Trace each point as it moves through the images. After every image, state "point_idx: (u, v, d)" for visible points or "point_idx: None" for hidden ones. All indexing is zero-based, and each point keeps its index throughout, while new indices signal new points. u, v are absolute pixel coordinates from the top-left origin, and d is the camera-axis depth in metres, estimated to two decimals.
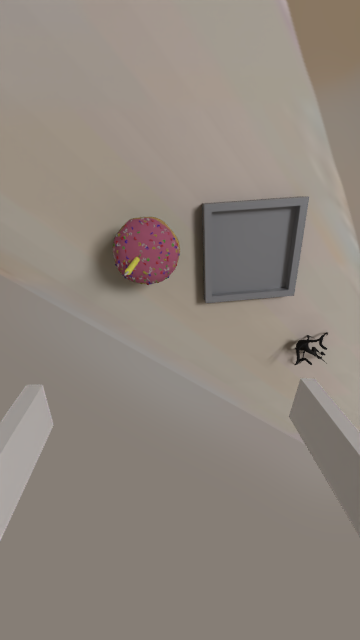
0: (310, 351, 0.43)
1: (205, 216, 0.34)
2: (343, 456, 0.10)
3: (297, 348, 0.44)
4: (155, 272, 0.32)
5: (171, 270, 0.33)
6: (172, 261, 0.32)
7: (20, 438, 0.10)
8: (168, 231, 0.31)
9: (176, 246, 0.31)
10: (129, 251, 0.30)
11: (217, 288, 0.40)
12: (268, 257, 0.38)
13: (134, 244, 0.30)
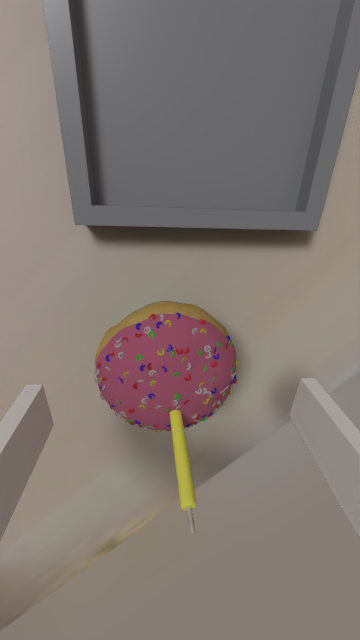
0: None
1: (102, 222, 0.14)
2: (343, 456, 0.10)
3: None
4: (209, 379, 0.13)
5: (213, 336, 0.13)
6: (191, 337, 0.13)
7: (20, 438, 0.10)
8: (121, 336, 0.13)
9: (157, 321, 0.13)
10: (157, 422, 0.14)
11: (288, 189, 0.15)
12: None
13: (143, 413, 0.14)
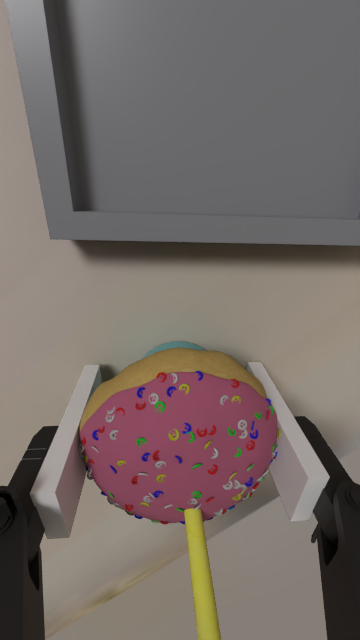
0: None
1: (90, 236, 0.10)
2: None
3: None
4: (243, 467, 0.09)
5: (250, 404, 0.09)
6: (219, 409, 0.09)
7: None
8: (115, 405, 0.09)
9: (168, 384, 0.09)
10: (165, 519, 0.10)
11: (350, 188, 0.11)
12: None
13: (145, 511, 0.10)
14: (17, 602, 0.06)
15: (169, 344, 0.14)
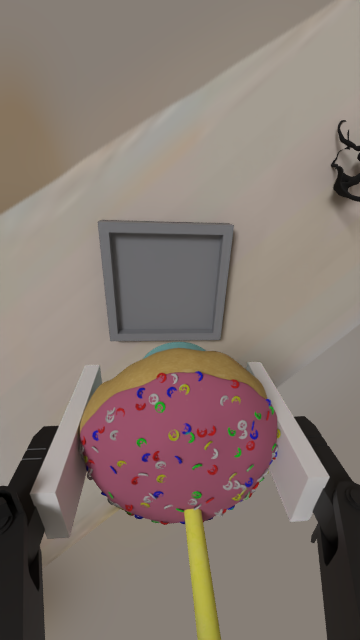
0: None
1: (122, 339, 0.32)
2: None
3: (346, 196, 0.25)
4: (243, 467, 0.09)
5: (250, 405, 0.09)
6: (219, 410, 0.09)
7: None
8: (115, 406, 0.09)
9: (169, 385, 0.09)
10: (165, 519, 0.10)
11: (206, 321, 0.33)
12: (175, 261, 0.29)
13: (146, 511, 0.10)
14: (17, 602, 0.06)
15: (169, 345, 0.14)
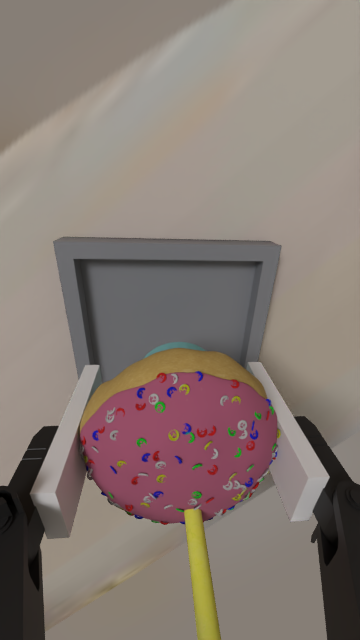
0: None
1: None
2: None
3: None
4: (243, 467, 0.09)
5: (250, 405, 0.09)
6: (219, 410, 0.09)
7: None
8: (115, 406, 0.09)
9: (169, 385, 0.09)
10: (165, 519, 0.10)
11: None
12: (183, 300, 0.18)
13: (146, 511, 0.10)
14: (17, 602, 0.06)
15: (169, 345, 0.14)
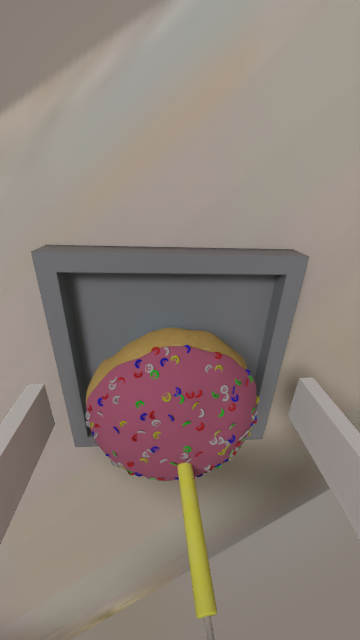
0: None
1: None
2: (341, 455, 0.10)
3: None
4: (226, 425, 0.11)
5: (231, 373, 0.11)
6: (204, 376, 0.10)
7: (22, 437, 0.10)
8: (117, 376, 0.10)
9: (161, 356, 0.10)
10: (162, 475, 0.12)
11: None
12: (188, 318, 0.16)
13: (144, 467, 0.11)
14: None
15: (162, 329, 0.15)
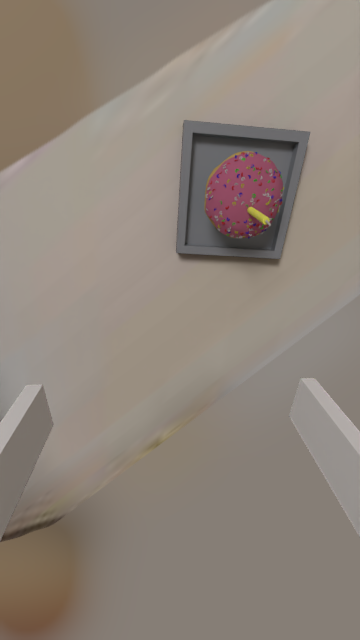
0: None
1: (187, 252, 0.33)
2: (343, 456, 0.10)
3: None
4: (270, 188, 0.25)
5: (273, 166, 0.25)
6: (263, 162, 0.25)
7: (20, 438, 0.10)
8: (226, 163, 0.25)
9: (245, 154, 0.25)
10: (239, 217, 0.26)
11: (267, 240, 0.34)
12: None
13: (233, 209, 0.26)
14: None
15: None
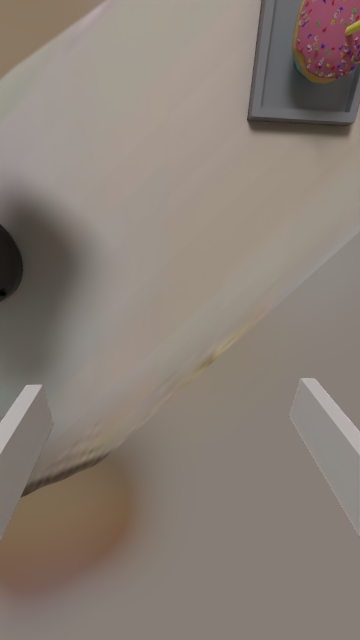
0: None
1: (263, 115, 0.32)
2: (343, 456, 0.10)
3: None
4: None
5: None
6: None
7: (20, 438, 0.10)
8: None
9: None
10: (335, 41, 0.26)
11: (341, 104, 0.33)
12: None
13: (330, 31, 0.25)
14: None
15: None
